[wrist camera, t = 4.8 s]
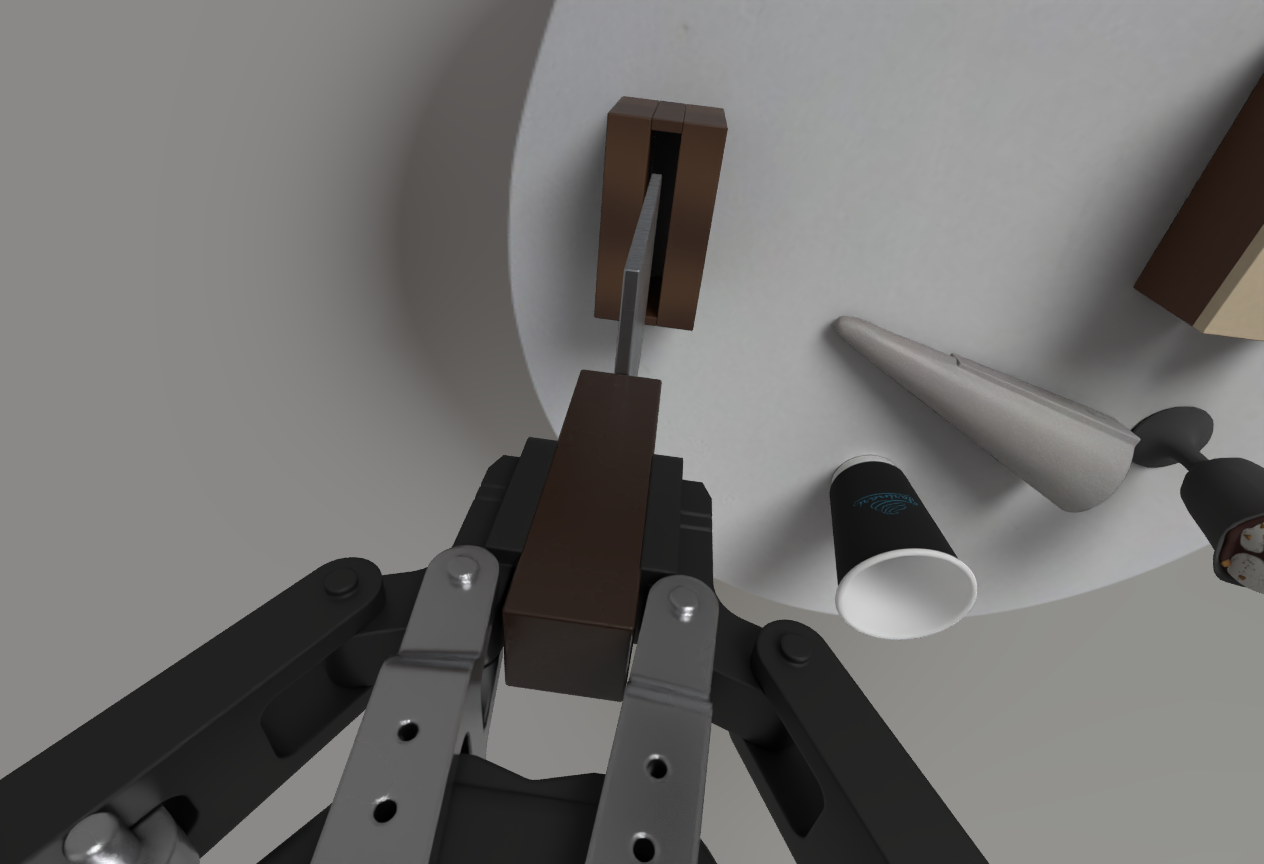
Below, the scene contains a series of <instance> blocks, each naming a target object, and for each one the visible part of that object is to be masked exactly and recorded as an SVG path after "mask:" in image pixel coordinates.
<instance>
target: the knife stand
mask: <svg viewBox="0 0 1264 864" xmlns="http://www.w3.org/2000/svg"><path fill="white" fill-rule="evenodd" d="M727 130H728V128H727V123H726V118H725V113H724V109H722V108H714V107H706V106H698V105H690V104H682V103H674V102H666V101H660V102H659V101H657V100H649V99H641V98H633V97H625V96H623V97H622V98H621V99H620V100H619V101H618V102H617V103H616V105H615V106H614V107H613V108H612V109H611V110H610V111H609V113H608V116H607V131H606V146H605V161H604V176H603V191H602V206H601V221H600V236H599V250H598V265H597V280H596V295H595V310H594V317H595V318H601V319H609V320H616V321H619V317H620V306H621V295H622V285H623V274H624V268H625V264H626V261H627V258H628V254H629V251H630V247H631V244H632V240H633V237H634V234H635V230H636V227H637V223H638V220H639V216H640V213H641V210H642V206H643V203H644V199H645V196H646V193H647V189H648V186H649V182H650V179H651V174H652V165H653V156H654V147H655V138H656V131H662V132H670V133H678V134H681V133H682V135H681V143H680V150H679V158H678V165H677V173H676V180H675V188H674V195H673V203H672V210H671V218H670V225H669V233H668V240H667V248H666V255H665V263H664V270H663V277H657V276H650V282H649V291H648V299H647V307H646V316H645V325H653V326H660V327H668V328H675V329H683V330H691V331H692V330H693V327H694V321H695V315H696V309H697V303H698V298H699V292H700V286H701V280H702V274H703V269H704V263H705V257H706V251H707V245H708V240H709V234H710V228H711V222H712V217H713V211H714V205H715V199H716V193H717V188H718V182H719V176H720V170H721V164H722V159H723V153H724V147H725V141H726V135H727Z"/></svg>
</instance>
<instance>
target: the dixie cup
mask: <svg viewBox="0 0 1264 864" xmlns="http://www.w3.org/2000/svg"><path fill="white" fill-rule="evenodd" d="M830 505H831V515H832V526H833V537H834V547H835V558H836V569H837V579H838V588H837V591H836V597H835V603H836V608H837V611H838V613H839V615H840V616H841V618H842V619H843V620H844V621H845V622H846V623H847V624H848V625H849V626H850V627H852V628H853V629H855V630H857V631H859V632H861V633H863V634H866V635H869V636H872V637H875V638H881V639H888V640H908V639H916V638H921V637H925V636H929V635H932V634H935V633H938V632H940V631H943V630H945V629H947V628H948V627H950V626H952V625H954V624H955V623H957V622H958V621H959V620H960V619H962V618H963V617H964V616H965V615H966V614H967V613H968V612H969V610H970V609H971V608H972V606H973V604H974V602H975V600H976V596H977V582H976V579H975V576H974V574H973V573H972V571H971V570H970V569H969V568H968V567H967V566H966V565H965V564H964V563H963V562H962V561H960V560H959V559H958V558H957V556H956V554H955V553H954V551H953V550H952V548H951V547H950V545H949V544H948V542H947V540H946V539H945V537H944V536H943V534H942V533H941V531H940V529H939V528H938V526H937V525H936V523H935V522H934V520H933V519H932V517H931V515H930V514H929V512H928V511H927V509H926V508H925V506H924V504H923V503H922V501H921V500H920V498H919V497H918V495H917V494H916V492H915V490H914V489H913V487H912V486H911V484H910V483H909V481H908V479H907V478H906V476H905V475H904V473H903V472H902V471H901V470H900V469H898V468H897V467H895V465H894V464H893V463H892V462H890V461H889V460H887V459H885V458H883V457H879V456H873V455H867V456H860V457H856V458H853V459H851V460H849V461H847V462H845V463H844V464H842V465H841V466H840V467H839V468H838V469H837V470H836V472H835V473H834V475H833V478H832V485H831V487H830Z"/></svg>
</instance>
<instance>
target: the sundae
mask: <svg viewBox="0 0 1264 864" xmlns="http://www.w3.org/2000/svg"><path fill="white" fill-rule="evenodd" d="M1132 432H1133V433H1134V434H1135V435H1137V436H1138V437H1139V438H1140V441H1139V442H1138V444H1137V445H1136V446H1135V448H1134V453H1133V458H1132V461H1133V462H1134V463H1136V464H1138V465H1141V466H1145V467H1164V466H1168V465H1172V464H1176V463H1181V464H1182V465H1183V466H1184V467H1185V468H1186V469H1187V470H1188V471H1189V472H1188V473H1187V474H1186V475H1185V478H1184V480H1183V483H1182V486H1181V489H1180V494H1181V498H1182V500H1183V502H1184V504H1185V506H1186V508H1187V510H1188V511H1189V513H1190V515H1191V516H1192V517H1193V519H1194V520H1195V522H1196V523H1197V525H1198V526H1199V527H1200V529H1201V530H1202V532H1203V533H1204V535H1205V536H1206V537H1207V539H1208V541H1209V542H1210V544H1211V545H1212V547H1213V548H1214V550H1215V551H1214V555H1213V568H1214V572H1215V574H1216V576H1217V577H1218V578H1219V579H1220V580H1223V581H1225V582H1228V583H1231V584H1235V585H1238V586H1242V587H1247V588H1249V589H1251V590H1254V591H1256V592H1259V593H1262V594H1264V468H1263V467H1261V466H1259V465H1257V464H1255V463H1253V462H1251V461H1249V460H1246V459H1243V458H1217V459H1212V460H1208V459H1207V458H1206V457H1205V456H1204V455H1203V454H1201V453H1200V452H1199V451H1200V450H1201V449H1202V448H1203V447H1204V446H1205V445H1206V444H1207V443H1208V441H1209V440H1210V438H1211V435H1212V433H1213V419H1212V418H1211V416H1210V415H1209V414H1208V413H1207V412H1206V411H1204V410H1201V409H1199V408H1195V407H1175V408H1171V409H1167V410H1164V411H1161V412H1158V413H1156V414H1154V415H1152V416H1150V417H1149V418H1147V419H1146V420H1144V421H1142V422H1141V423H1140V424H1139V425H1138V426H1137V427H1136V428H1135V429H1134V430H1133V431H1132Z"/></svg>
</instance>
